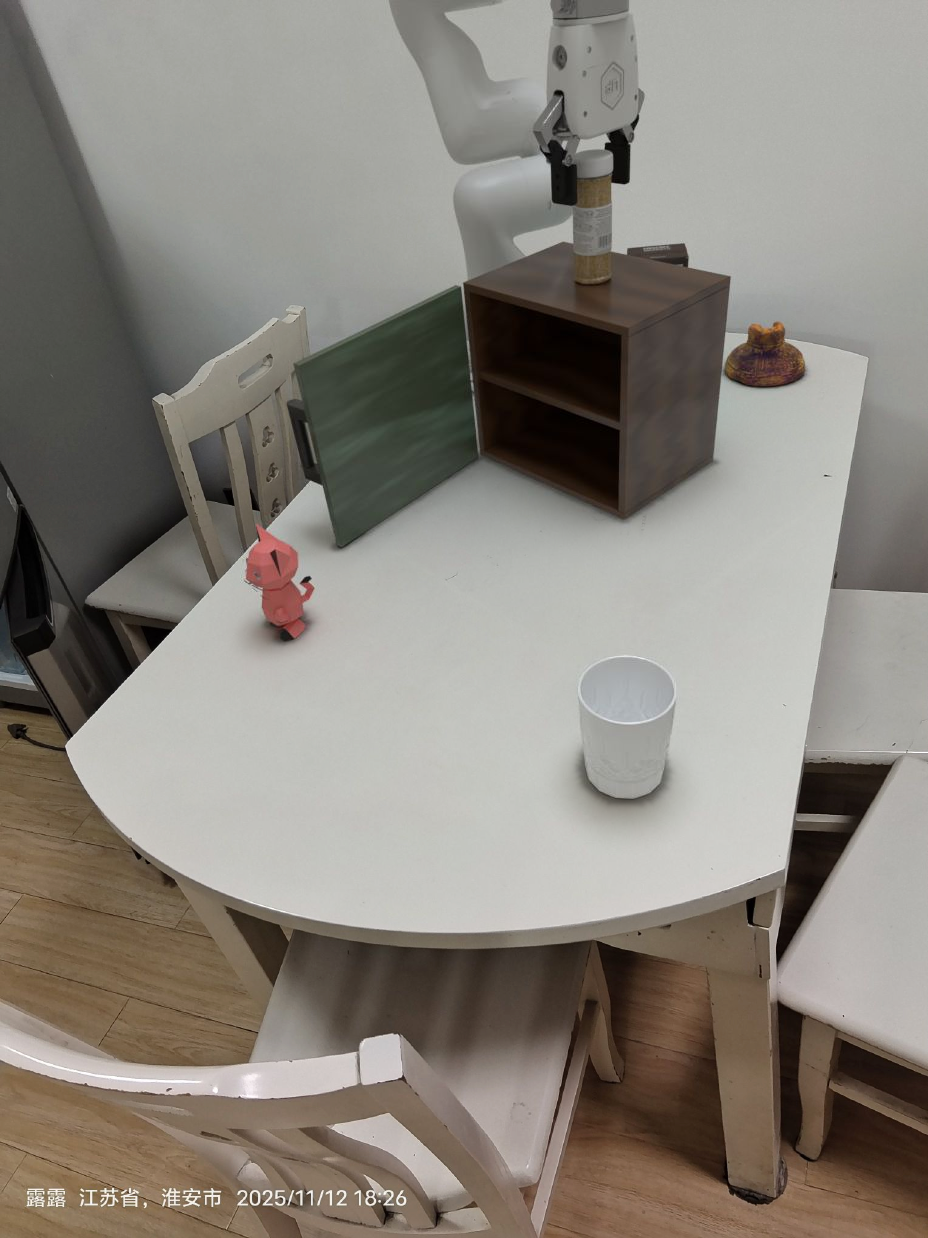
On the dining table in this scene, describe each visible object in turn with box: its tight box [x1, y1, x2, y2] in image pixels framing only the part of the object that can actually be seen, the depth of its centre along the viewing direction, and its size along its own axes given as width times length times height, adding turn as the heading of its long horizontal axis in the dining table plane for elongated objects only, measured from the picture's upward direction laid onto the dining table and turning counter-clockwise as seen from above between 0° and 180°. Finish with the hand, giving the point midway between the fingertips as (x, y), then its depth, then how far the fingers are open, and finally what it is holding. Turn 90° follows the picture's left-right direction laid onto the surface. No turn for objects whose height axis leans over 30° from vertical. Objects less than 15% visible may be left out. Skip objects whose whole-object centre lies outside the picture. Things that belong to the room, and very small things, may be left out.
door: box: [285, 284, 479, 548], centre depth 107 cm, size 7×26×24 cm, turn 138°
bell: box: [724, 321, 806, 387], centre depth 129 cm, size 12×12×7 cm
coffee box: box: [626, 242, 690, 268], centre depth 135 cm, size 9×6×16 cm
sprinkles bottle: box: [572, 148, 613, 284], centre depth 97 cm, size 5×5×13 cm
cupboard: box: [462, 241, 732, 521], centre depth 109 cm, size 18×26×24 cm
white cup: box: [576, 654, 678, 800], centre depth 72 cm, size 8×8×10 cm
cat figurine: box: [242, 523, 315, 642], centre depth 91 cm, size 7×7×12 cm
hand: (591, 192), depth 95 cm, fingers open, 8 cm apart
